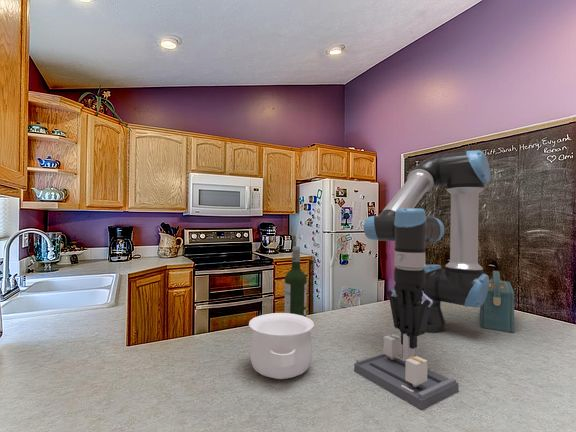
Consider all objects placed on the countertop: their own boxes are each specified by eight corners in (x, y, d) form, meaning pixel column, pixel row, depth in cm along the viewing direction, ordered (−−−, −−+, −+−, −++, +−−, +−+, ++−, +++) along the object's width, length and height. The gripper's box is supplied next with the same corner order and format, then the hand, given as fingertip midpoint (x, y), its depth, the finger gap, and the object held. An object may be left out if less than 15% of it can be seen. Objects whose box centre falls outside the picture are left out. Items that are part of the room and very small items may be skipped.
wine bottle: (310, 330, 114) (311, 247, 114) (292, 335, 109) (293, 248, 109) (297, 324, 120) (298, 245, 120) (279, 328, 116) (281, 246, 116)
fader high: (383, 358, 86) (383, 335, 86) (393, 354, 89) (393, 333, 89) (392, 362, 84) (392, 339, 84) (401, 358, 86) (402, 336, 86)
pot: (323, 388, 75) (323, 336, 75) (249, 393, 72) (250, 340, 72) (304, 350, 97) (304, 310, 97) (246, 353, 94) (247, 312, 94)
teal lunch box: (515, 334, 113) (515, 278, 114) (479, 328, 119) (480, 275, 119) (510, 316, 135) (510, 269, 135) (480, 312, 141) (481, 266, 141)
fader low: (405, 385, 72) (405, 358, 72) (416, 380, 74) (416, 354, 74) (416, 391, 70) (416, 363, 70) (427, 386, 72) (427, 359, 72)
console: (354, 371, 84) (354, 360, 84) (389, 359, 91) (389, 349, 91) (421, 410, 67) (421, 396, 67) (458, 391, 74) (458, 379, 74)
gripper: (379, 265, 86) (379, 353, 86) (423, 272, 75) (422, 373, 75) (398, 263, 90) (397, 347, 90) (441, 270, 79) (440, 365, 79)
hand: (408, 359), depth 82 cm, fingers closed
